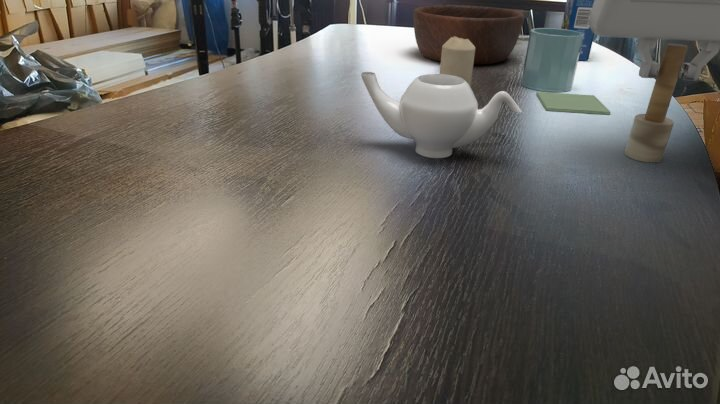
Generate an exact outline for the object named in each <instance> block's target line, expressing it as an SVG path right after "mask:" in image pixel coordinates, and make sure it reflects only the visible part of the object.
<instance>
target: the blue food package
mask: <svg viewBox="0 0 720 404" xmlns="http://www.w3.org/2000/svg"><path fill="white" fill-rule="evenodd" d="M594 1H595V0H566V2H565V8H564V11H563V17H562V22H561V27H560V29H567V30H573V31H578V32H582V33H583V34H584V36H583V41H582V45H581V50H580V54H579V59H578V61H589V60H590V59H589V58H590V54H591V50H592V46H593V42H594V38H595V33H593V32H592V30H591V28H590V26H589V19H590V15H591V11H592V7H593V4H594Z"/></svg>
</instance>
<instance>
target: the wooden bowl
mask: <svg viewBox="0 0 720 404" xmlns="http://www.w3.org/2000/svg"><path fill="white" fill-rule="evenodd" d="M412 14H413V16H412V17H413V30H414V32H413V33H414V38H415V41H416V45H417V48H418V50H419V52H420V54H421V55H422V56H423V57H425V58H427V59H429V60H432V61H437V62H441V55H442V46H443V45H444V44H445V43H446V42H447V41H448V40H449V39H450V38H451V37H455V36H456V37H458V38H463V39H469V41H470V42H471V43H472V44H473V45H474V46H475V55H474V63H473V66H475V65H478V66H479V65H493V64H498V63H501V62H503V61H505V60H506V59H508V58H509V56H510V55H511V53H512V52H513V50H514V49H515V46H516V45H517V43H518V40H519V37H520V35H521V31H522V28H523V24H524V21H525V14H523V13H522V12H520V11H517V10H512V9H507V8H502V7H490V6H481V5H464V4H463V5H462V4H461V5H460V4H439V5H438V4H437V5H436V4H435V5H425V6H419V7H416V8H415V9H414V10H413V13H412Z"/></svg>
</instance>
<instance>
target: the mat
mask: <svg viewBox="0 0 720 404" xmlns="http://www.w3.org/2000/svg"><path fill="white" fill-rule="evenodd" d="M535 95H536V97H537V98H538V99H539V101H540V103H541V105H542V106H543V107H544V109H545V111H548V112H560V113H561V112H562V113H578V114H590V115H591V114H592V115H593V114H594V115H608V116H609V115H611V110H609V109H608V107H606V106H605V105H604V104H603V103H602V101H600V99H598V98H597V97H596V96H595V95H594V94H578V93H564V92H545V91H536V94H535Z"/></svg>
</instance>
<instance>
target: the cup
mask: <svg viewBox="0 0 720 404" xmlns="http://www.w3.org/2000/svg"><path fill="white" fill-rule="evenodd" d="M583 36H584V34H583V33H582V32H578V31H573V30H567V29H561V28H554V27H537V28H532V29H530V30H529V35H528V41H527V47H526V53H525V59H524V64H523V70H522V76H521V86H523V87H525V88H527V89H529V90H530V89H531V90H534V91H537V92H547V93H564V92H565V93H566V92H569V91H571V90H572V87H573V84H574V81H575V76H576V72H577V67H578V63H579V60H578V59H579V54H580V50H581V45H582V41H583Z"/></svg>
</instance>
